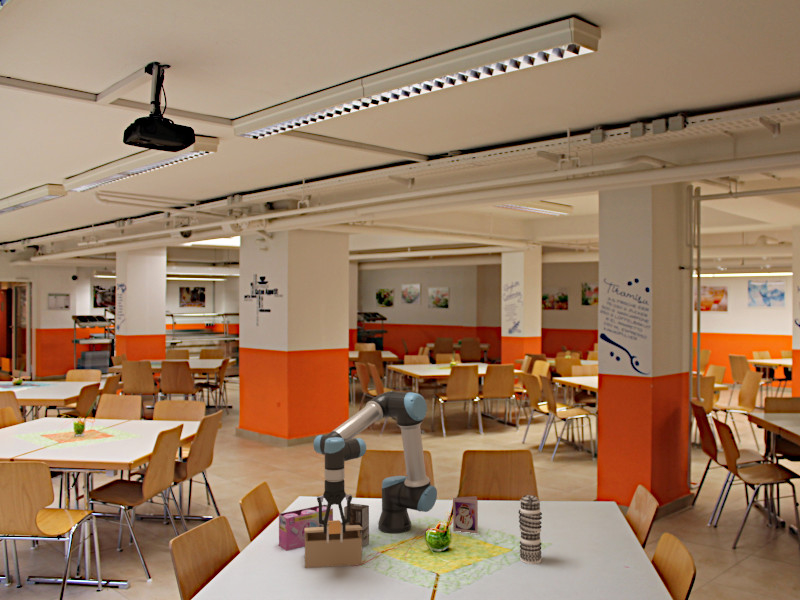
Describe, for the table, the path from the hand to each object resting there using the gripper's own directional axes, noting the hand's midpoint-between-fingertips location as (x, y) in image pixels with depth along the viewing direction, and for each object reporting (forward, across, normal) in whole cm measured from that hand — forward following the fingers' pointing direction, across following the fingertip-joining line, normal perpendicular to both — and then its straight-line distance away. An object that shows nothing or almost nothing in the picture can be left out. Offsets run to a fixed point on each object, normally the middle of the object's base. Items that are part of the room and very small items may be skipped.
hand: (334, 541), depth 241 cm
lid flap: (-1, 0, -9) cm, 9 cm away
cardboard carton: (+12, 0, -14) cm, 19 cm away
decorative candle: (+12, -78, -1) cm, 79 cm away
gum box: (+12, +10, -36) cm, 39 cm away
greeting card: (+12, -62, -39) cm, 74 cm away
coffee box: (+12, -11, -30) cm, 34 cm away
